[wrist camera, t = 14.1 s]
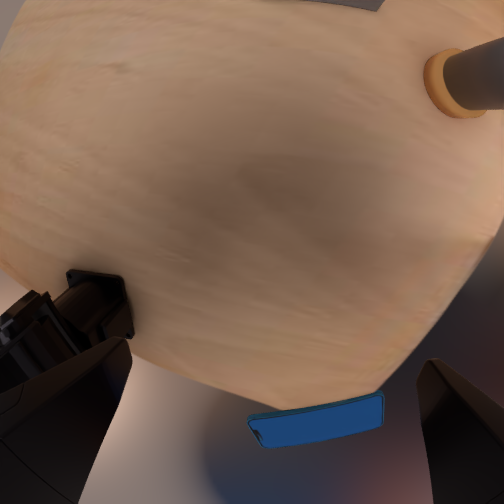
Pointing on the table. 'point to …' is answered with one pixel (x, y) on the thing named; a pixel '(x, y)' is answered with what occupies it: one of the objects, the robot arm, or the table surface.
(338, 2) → the socket
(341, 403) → the smartphone
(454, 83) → the plug
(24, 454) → the robot arm
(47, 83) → the table surface
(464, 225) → the table surface
